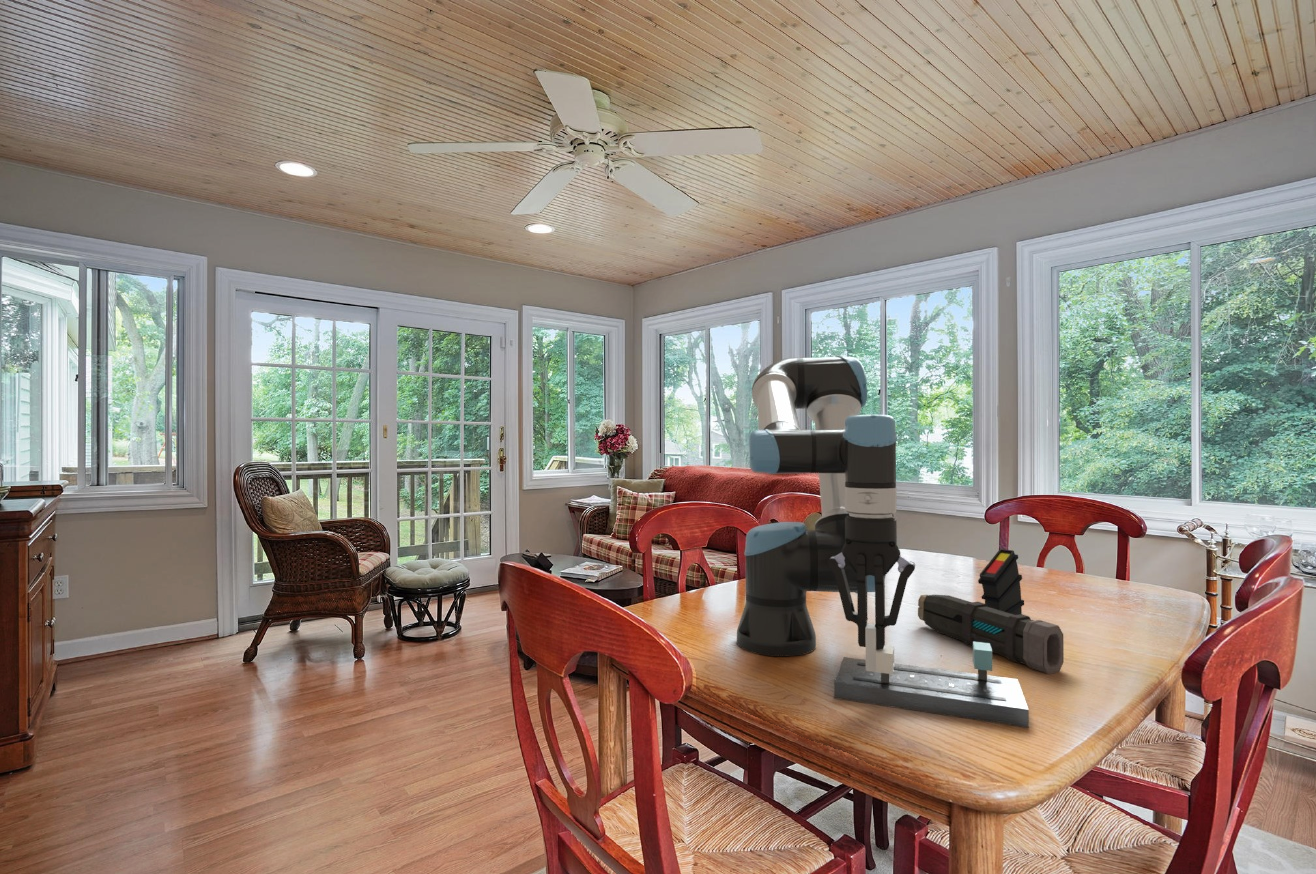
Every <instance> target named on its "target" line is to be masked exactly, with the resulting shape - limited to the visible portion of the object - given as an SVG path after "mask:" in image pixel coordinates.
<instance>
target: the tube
mask: <svg viewBox="0 0 1316 874" xmlns="http://www.w3.org/2000/svg"><path fill="white" fill-rule="evenodd" d="M917 606H918V607H917V617H918V619H919V620H921V621H923V622H924V624H925V625H926V626H928V627H929V628H931V629H932V630H934V631H936V632H938V633H940V634H942V635H945V636H948V637H951V638H954V639H957V640H958V641H962V642H964V643H965V644H966V645H967V646H969V647H972V648H973V642H982V643H990V646H991V649H992V654H993V653H994V654H997V655H999V656H1002V657H1005V658H1007V659H1008V660H1009V662H1012V663H1016V664H1019V663H1020V664H1022V665H1023V664H1024V665H1026V666H1027V668H1030V669H1033V670H1036V671H1038V672H1041V673H1043V674H1046V675H1050V674H1055V673H1060V672H1061V670H1062V667H1063V664H1064V658H1065V657H1064V644H1065V643H1064V633H1063V631H1062V629H1061V628H1060V626H1059V625H1058V624H1055V623H1051V622H1047V621H1044V620H1041V619H1035V620H1033V619H1031V617H1030V616H1029V615H1026V614H1023V613H1022V614H1019V615H1014V614H1010V613H1007V612H1003V611H1000V610H997V609H993V608H990V607H988V606H987V604H985V602H981V601H969V600H965V599H962V598H959V597H955V596H952V595H947V594H921V595H920V596H919V597H918V602H917Z"/></svg>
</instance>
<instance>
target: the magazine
mask: <svg viewBox="0 0 1316 874" xmlns="http://www.w3.org/2000/svg"><path fill="white" fill-rule="evenodd" d="M1018 559H1019V555H1018V554H1016V553H1015V550H1012V549H1011V550H1010V549H1006V548H1005V549H1003V548H1000V549H998V551H997V552H996V553H995V554H994V556H993V557H992V558H991V559H990V561H989V562H988V563H987V564H986V565H985V567H984V568H983V569H982V571H981V572H980V573H979V578H978V579H977V582H978V584H980V585H981V587H982V589H983V590H982V591H983V594H982V595H981V597H980V598H981V599H982V600H984V604H987V606H988V607H990V608H993V609H997V610H1000V611H1003V612H1007V613H1010V614H1014V615H1019V614H1023V612H1022V610H1023V609H1022V607H1023V606H1025V600H1024V599H1022V590H1021V589H1022V588H1021V583H1020V582H1021V581H1022V579H1023V576H1022V574H1021V573H1019V566H1018V562H1017V560H1018Z"/></svg>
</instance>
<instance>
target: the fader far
mask: <svg viewBox="0 0 1316 874" xmlns="http://www.w3.org/2000/svg"><path fill="white" fill-rule="evenodd" d="M972 662H973V666H974V667H973V668H974V670H977V674H978V679H982V680H987V675H988V671H989V672H993V652H992V649H991V646H990V643H982V642H973V647H972Z"/></svg>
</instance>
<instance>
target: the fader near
mask: <svg viewBox="0 0 1316 874" xmlns="http://www.w3.org/2000/svg"><path fill="white" fill-rule="evenodd" d="M894 663H895V646H894V645H888V644H885V645H884V648H883V649H876V672H880V673H881V682H884V683H889V682H890V674H893V670H894Z"/></svg>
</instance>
